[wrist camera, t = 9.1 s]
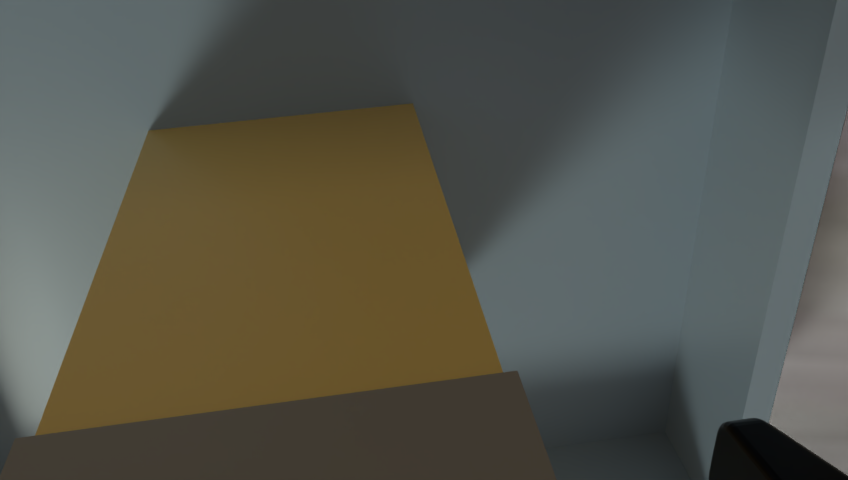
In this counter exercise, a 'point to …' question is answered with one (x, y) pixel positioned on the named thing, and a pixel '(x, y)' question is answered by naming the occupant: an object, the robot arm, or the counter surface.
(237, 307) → the block
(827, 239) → the counter surface
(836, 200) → the counter surface
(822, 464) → the robot arm
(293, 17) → the parts tray
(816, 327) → the counter surface
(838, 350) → the counter surface
